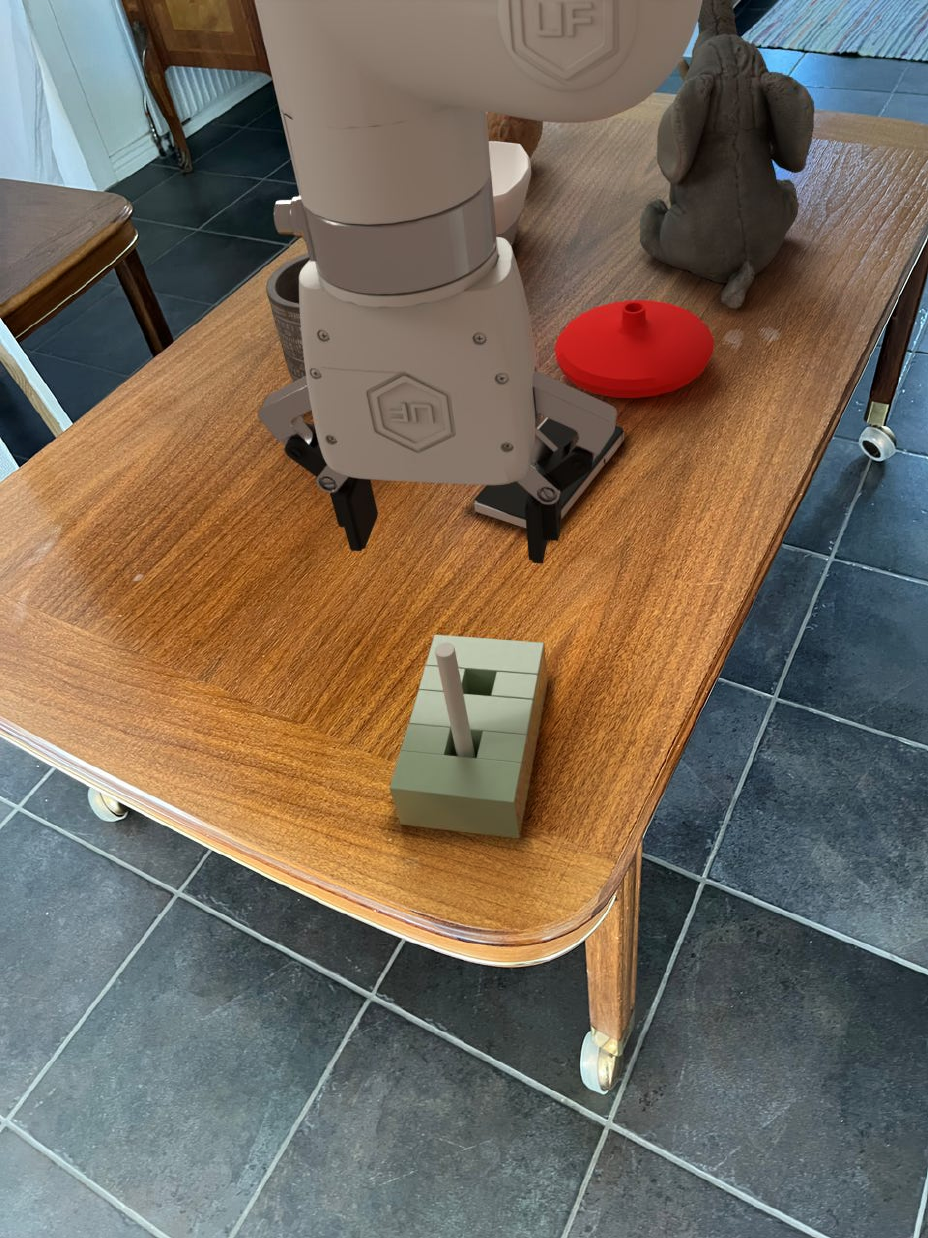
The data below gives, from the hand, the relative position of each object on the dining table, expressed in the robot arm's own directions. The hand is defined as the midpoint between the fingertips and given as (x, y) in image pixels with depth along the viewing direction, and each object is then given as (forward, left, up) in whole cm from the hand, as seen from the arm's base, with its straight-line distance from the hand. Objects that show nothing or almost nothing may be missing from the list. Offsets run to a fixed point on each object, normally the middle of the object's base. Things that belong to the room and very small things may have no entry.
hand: (451, 539), depth 51 cm
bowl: (+17, -77, -22) cm, 82 cm away
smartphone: (0, -33, -22) cm, 40 cm away
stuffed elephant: (-14, -74, -22) cm, 78 cm away
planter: (+23, -46, -22) cm, 56 cm away
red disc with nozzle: (-6, -50, -22) cm, 55 cm away
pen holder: (+1, -2, -22) cm, 22 cm away
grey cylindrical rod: (+1, +1, -22) cm, 22 cm away
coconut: (+15, -98, -22) cm, 102 cm away
